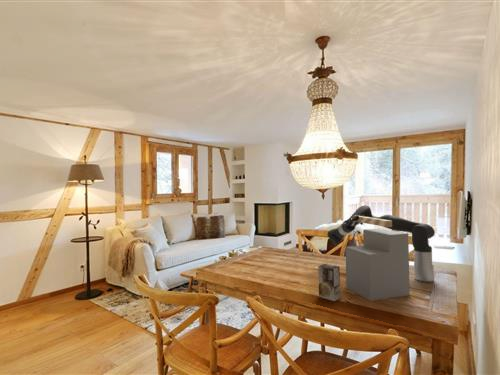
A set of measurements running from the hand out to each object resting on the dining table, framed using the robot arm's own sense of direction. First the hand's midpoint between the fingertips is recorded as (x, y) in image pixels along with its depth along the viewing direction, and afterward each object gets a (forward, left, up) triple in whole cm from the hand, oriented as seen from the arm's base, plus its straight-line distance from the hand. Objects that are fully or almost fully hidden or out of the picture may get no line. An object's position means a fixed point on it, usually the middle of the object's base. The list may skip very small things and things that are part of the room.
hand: (361, 216), depth 166 cm
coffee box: (+20, +28, -39) cm, 52 cm away
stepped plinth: (-5, +14, -39) cm, 42 cm away
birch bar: (-4, +7, -3) cm, 9 cm away
